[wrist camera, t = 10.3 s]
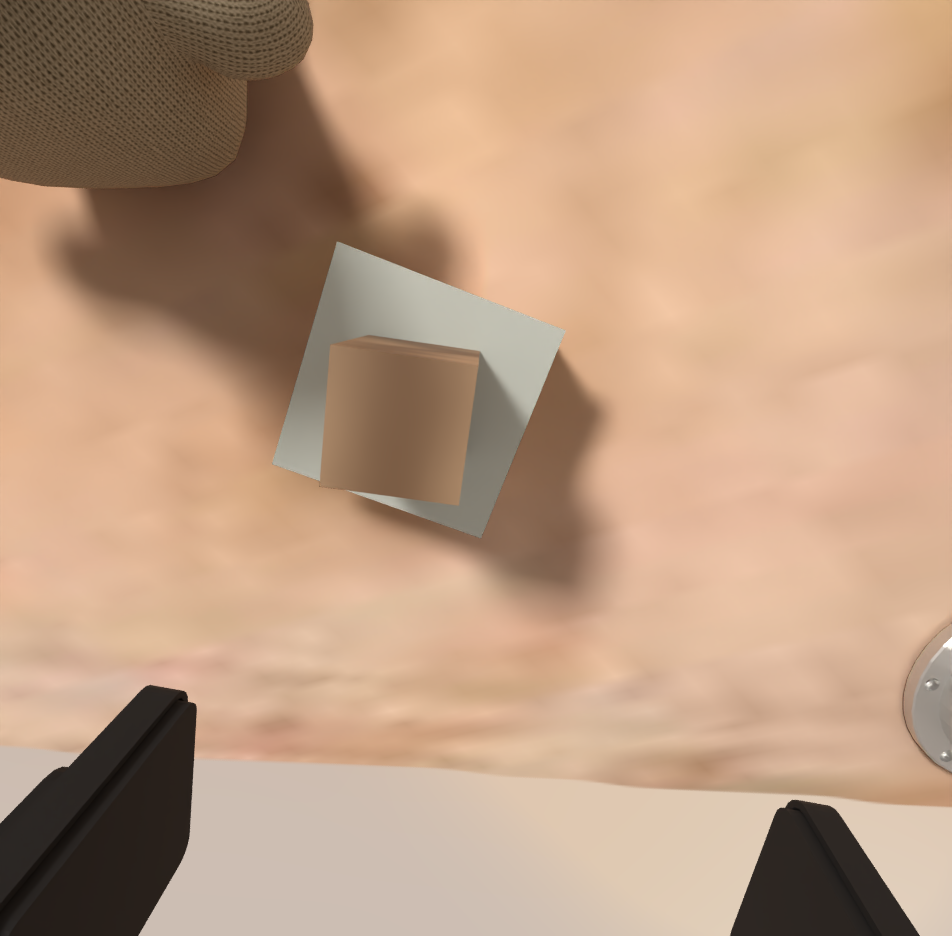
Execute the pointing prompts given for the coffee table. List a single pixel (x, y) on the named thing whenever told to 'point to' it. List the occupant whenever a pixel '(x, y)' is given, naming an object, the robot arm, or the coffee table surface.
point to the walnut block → (398, 418)
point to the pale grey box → (434, 322)
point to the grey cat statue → (135, 86)
